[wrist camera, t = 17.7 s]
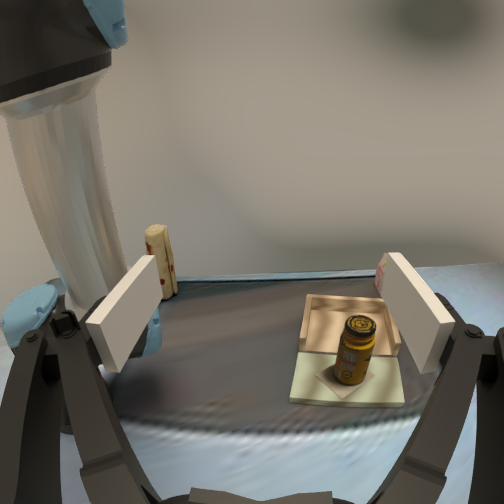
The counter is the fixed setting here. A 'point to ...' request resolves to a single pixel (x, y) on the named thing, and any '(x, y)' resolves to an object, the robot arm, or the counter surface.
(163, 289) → the food model
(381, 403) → the open-front wooden tray
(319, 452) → the counter surface
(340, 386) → the condiment
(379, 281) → the tea bag
